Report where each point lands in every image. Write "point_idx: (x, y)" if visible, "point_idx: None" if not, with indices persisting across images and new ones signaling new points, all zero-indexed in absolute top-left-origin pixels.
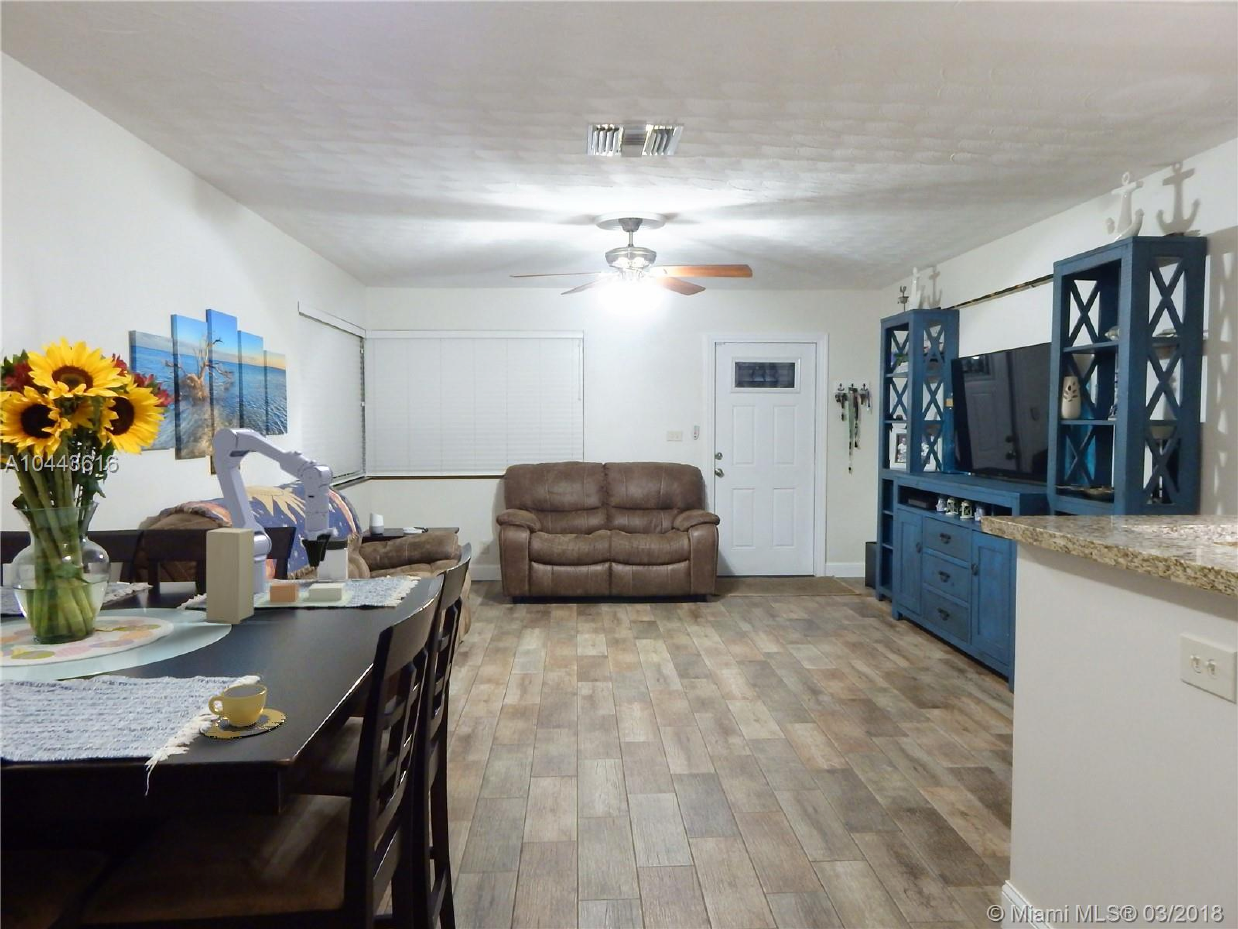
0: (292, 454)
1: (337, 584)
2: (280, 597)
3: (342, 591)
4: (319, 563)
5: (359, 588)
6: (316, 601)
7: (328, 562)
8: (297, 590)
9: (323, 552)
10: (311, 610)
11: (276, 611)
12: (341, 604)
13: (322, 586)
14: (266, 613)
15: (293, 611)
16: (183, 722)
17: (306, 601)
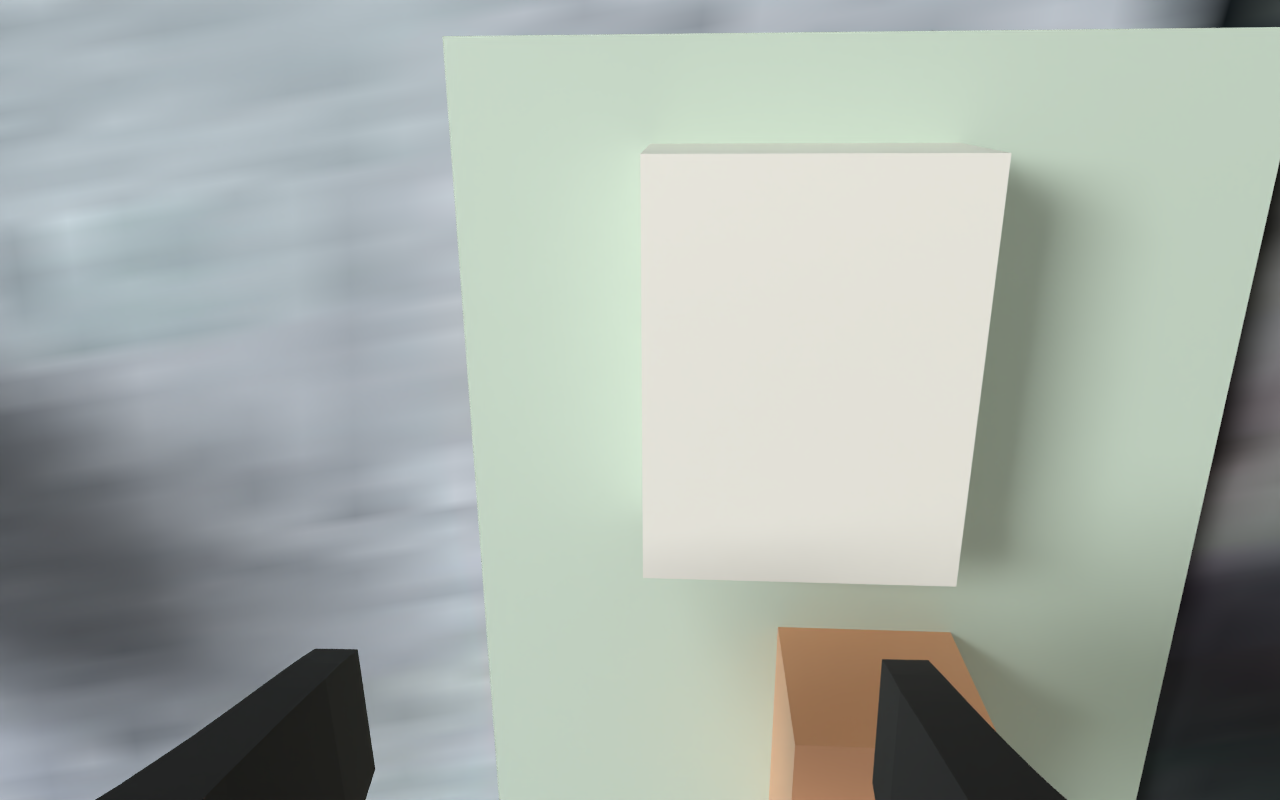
0: None
1: (730, 259)
2: None
3: (917, 149)
4: (909, 681)
5: (112, 42)
6: (1000, 426)
7: None
8: (852, 689)
9: (269, 773)
10: (1263, 420)
11: (1198, 722)
12: (1263, 97)
13: (850, 442)
14: (1256, 784)
15: (1250, 582)
16: None
17: (975, 528)
